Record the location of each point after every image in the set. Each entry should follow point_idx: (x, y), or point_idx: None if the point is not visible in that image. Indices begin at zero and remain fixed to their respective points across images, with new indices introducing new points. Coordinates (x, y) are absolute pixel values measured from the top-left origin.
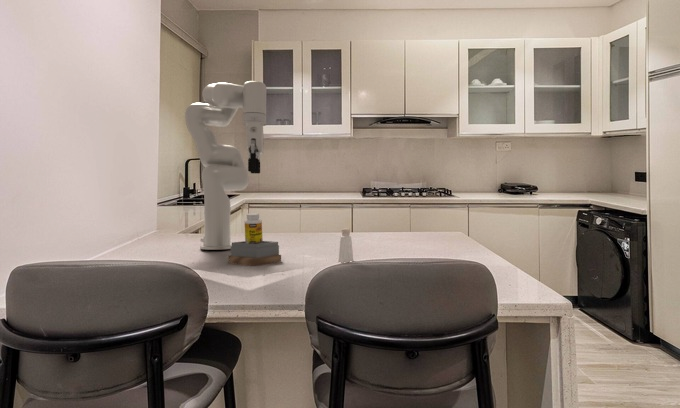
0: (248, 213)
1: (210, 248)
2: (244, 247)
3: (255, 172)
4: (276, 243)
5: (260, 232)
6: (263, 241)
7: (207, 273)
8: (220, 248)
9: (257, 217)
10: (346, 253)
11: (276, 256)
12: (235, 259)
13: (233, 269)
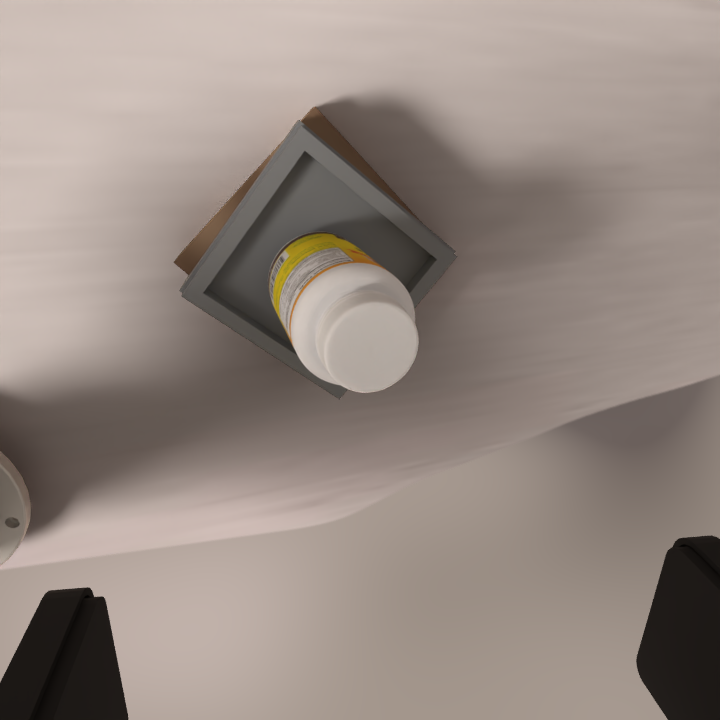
0: (349, 385)
1: (29, 519)
2: None
3: (111, 667)
4: (314, 137)
5: (366, 254)
6: (248, 228)
7: (607, 396)
8: (16, 473)
9: (397, 302)
10: None
11: (342, 136)
12: None
13: (531, 322)
